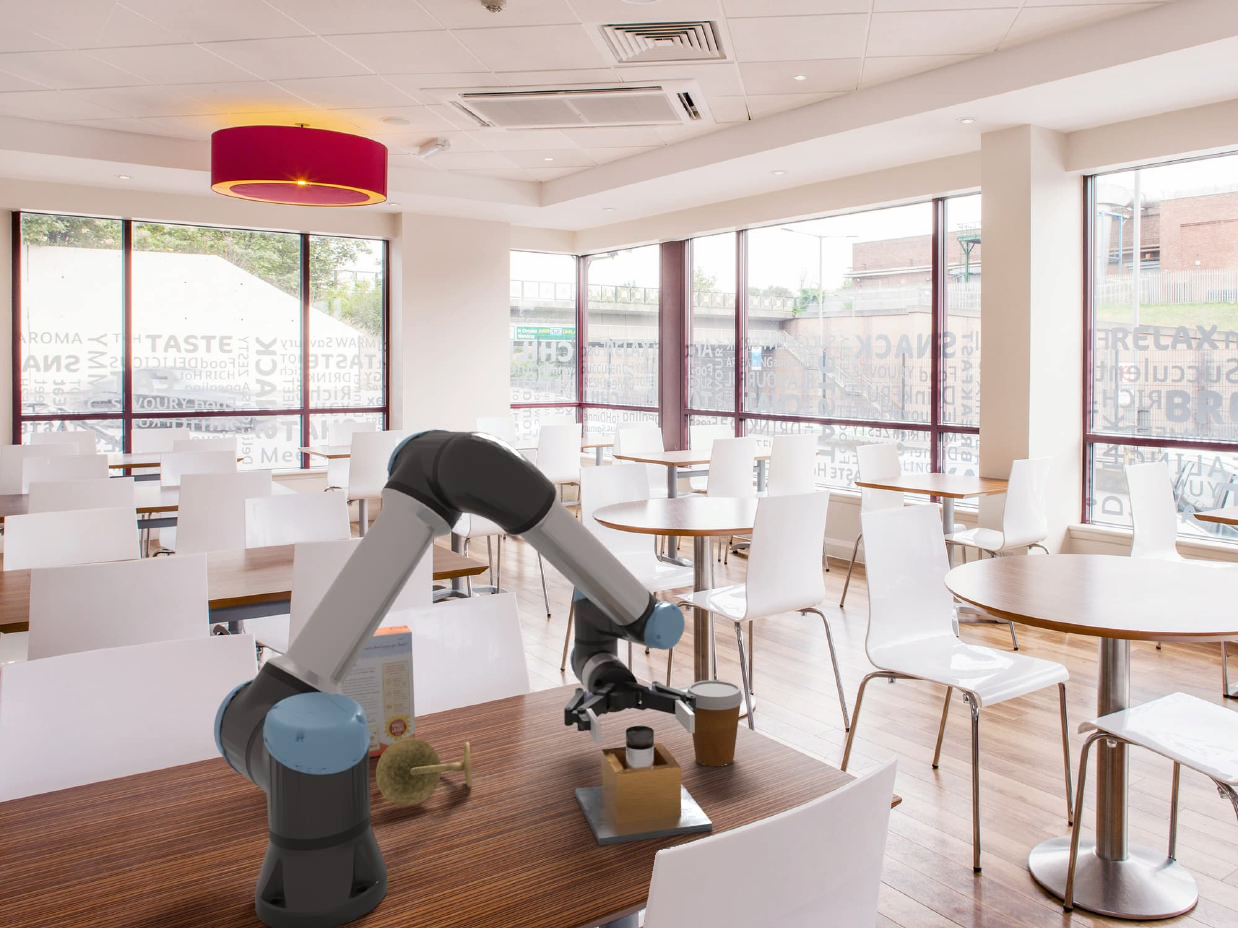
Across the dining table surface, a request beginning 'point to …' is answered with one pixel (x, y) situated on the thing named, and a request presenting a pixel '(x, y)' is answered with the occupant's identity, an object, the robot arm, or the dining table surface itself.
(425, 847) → the dining table surface
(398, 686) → the cracker box
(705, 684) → the disposable coffee cup
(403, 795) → the wall sconce
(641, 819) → the yellow open box
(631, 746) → the capped glass tube
